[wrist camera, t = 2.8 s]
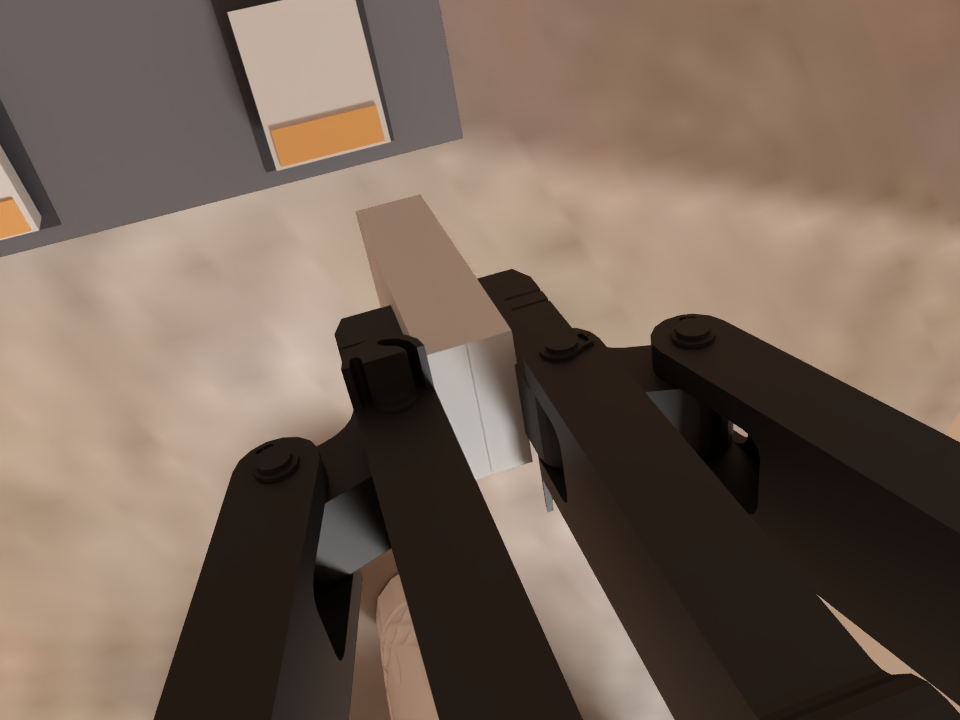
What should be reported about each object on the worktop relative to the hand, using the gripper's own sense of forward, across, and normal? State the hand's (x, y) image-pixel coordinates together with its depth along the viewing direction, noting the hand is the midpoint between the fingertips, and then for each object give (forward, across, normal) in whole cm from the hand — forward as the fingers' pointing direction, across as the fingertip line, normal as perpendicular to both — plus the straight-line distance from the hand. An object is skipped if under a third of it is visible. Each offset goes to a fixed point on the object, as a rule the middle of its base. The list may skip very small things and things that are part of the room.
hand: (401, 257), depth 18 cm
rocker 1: (+11, 0, +2) cm, 12 cm away
